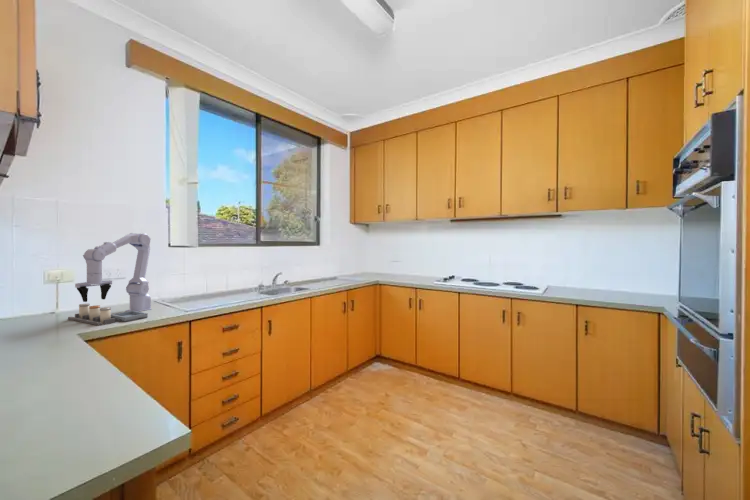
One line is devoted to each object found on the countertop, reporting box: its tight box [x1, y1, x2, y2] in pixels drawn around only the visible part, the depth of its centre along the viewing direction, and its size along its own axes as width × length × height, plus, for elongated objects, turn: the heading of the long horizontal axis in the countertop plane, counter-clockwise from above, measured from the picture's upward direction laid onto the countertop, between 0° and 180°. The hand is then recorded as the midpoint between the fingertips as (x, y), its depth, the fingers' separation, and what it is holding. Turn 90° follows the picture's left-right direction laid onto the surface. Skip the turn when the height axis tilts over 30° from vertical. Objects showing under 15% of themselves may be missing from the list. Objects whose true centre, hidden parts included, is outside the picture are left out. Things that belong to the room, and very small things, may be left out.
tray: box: [111, 311, 149, 323], centre depth 167 cm, size 11×13×2 cm
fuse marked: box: [89, 305, 101, 321], centre depth 161 cm, size 4×4×7 cm
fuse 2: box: [100, 306, 112, 324], centre depth 158 cm, size 4×4×7 cm
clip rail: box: [67, 312, 122, 327], centre depth 161 cm, size 10×26×2 cm, turn 67°
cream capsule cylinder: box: [78, 303, 91, 319], centre depth 165 cm, size 4×4×7 cm
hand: (94, 300), depth 161 cm, fingers open, 7 cm apart
